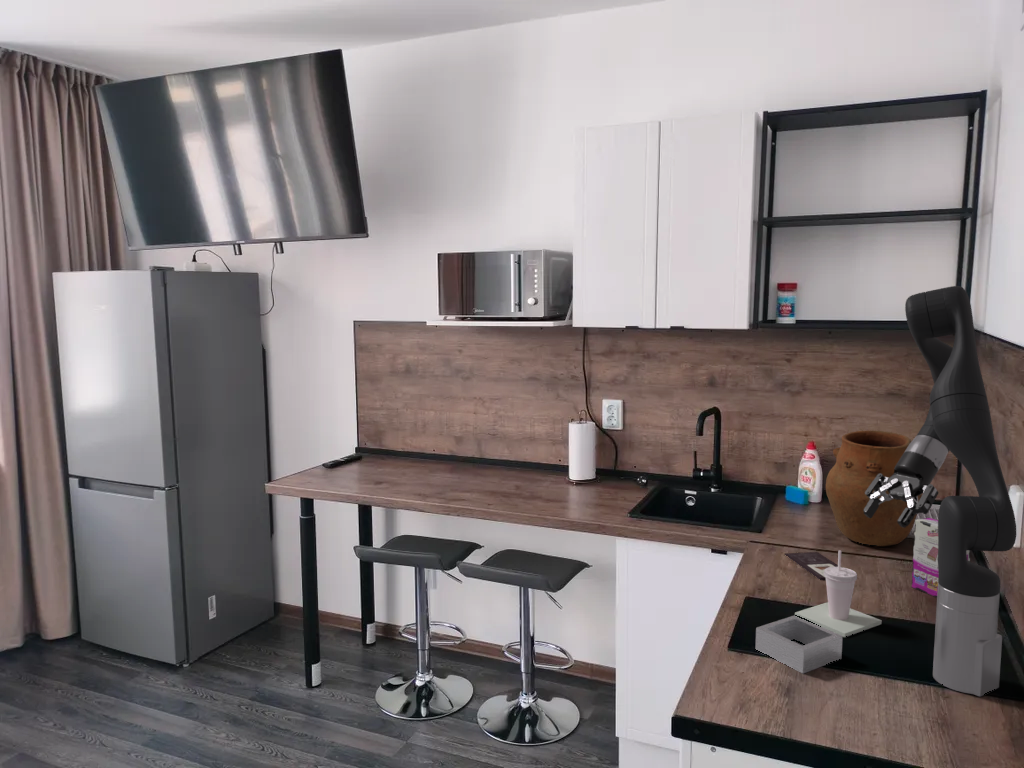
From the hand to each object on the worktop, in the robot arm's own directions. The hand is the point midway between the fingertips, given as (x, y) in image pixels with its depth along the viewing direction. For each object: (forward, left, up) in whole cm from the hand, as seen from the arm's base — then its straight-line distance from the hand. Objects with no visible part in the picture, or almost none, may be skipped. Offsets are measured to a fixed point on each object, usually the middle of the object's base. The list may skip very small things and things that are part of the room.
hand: (883, 520), depth 163 cm
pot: (+31, -42, -20) cm, 56 cm away
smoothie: (+2, +12, -20) cm, 23 cm away
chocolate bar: (+25, -13, -21) cm, 35 cm away
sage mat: (+2, +12, -20) cm, 23 cm away
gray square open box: (-4, +32, -20) cm, 38 cm away
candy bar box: (-1, -20, -20) cm, 29 cm away
